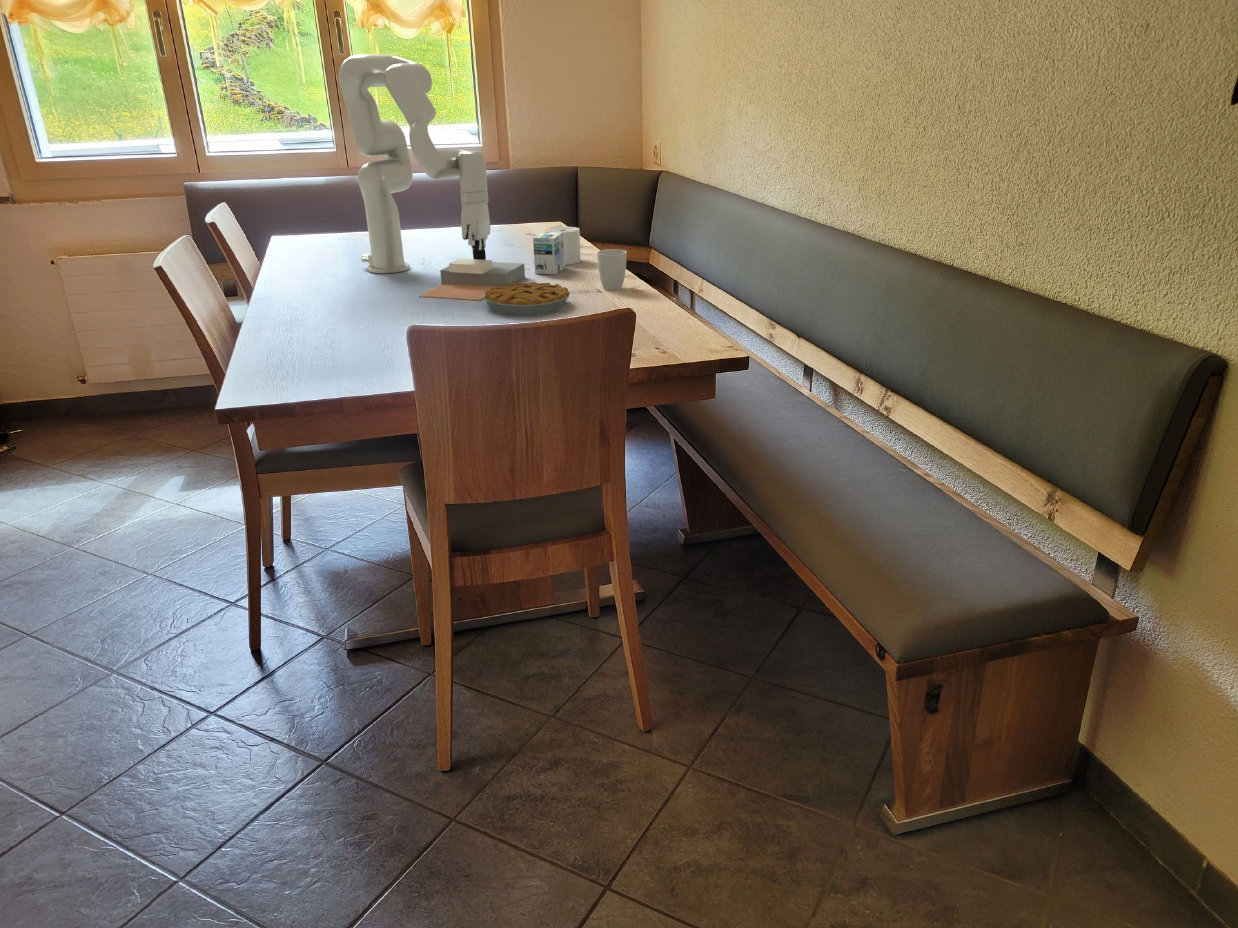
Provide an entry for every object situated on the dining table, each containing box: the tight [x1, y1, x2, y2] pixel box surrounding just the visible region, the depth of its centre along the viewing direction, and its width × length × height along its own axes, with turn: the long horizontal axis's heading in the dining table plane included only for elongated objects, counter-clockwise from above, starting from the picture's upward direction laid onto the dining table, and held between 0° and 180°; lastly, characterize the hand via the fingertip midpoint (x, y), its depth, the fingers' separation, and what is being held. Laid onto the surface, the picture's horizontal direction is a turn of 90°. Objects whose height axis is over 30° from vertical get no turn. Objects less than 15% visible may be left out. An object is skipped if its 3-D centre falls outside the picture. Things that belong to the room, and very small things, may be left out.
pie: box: [482, 281, 571, 317], centre depth 226 cm, size 22×22×5 cm
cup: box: [596, 248, 628, 291], centre depth 242 cm, size 8×8×10 cm
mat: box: [418, 283, 497, 302], centre depth 242 cm, size 18×15×1 cm
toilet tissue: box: [545, 224, 582, 266], centre depth 276 cm, size 11×12×10 cm
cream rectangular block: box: [448, 258, 493, 274], centre depth 248 cm, size 10×7×2 cm
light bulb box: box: [532, 231, 565, 275], centre depth 264 cm, size 11×7×11 cm, turn 168°
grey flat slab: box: [439, 261, 526, 287], centre depth 254 cm, size 20×14×4 cm
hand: (479, 263), depth 253 cm, fingers closed
